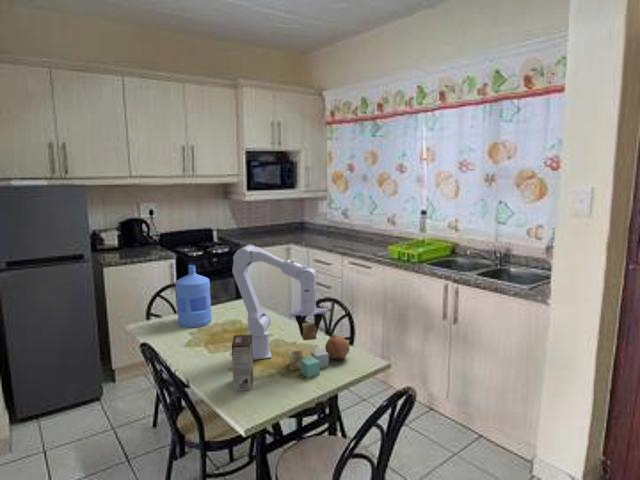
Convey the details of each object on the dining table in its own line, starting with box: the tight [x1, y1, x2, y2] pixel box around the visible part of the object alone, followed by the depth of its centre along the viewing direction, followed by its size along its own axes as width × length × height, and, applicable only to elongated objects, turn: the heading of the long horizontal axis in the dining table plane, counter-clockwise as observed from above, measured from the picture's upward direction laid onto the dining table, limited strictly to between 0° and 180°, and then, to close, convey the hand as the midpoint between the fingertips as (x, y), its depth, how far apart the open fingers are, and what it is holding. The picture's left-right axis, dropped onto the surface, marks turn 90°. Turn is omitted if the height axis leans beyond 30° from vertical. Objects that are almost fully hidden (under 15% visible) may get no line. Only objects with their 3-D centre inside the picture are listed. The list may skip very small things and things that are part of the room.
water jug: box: [175, 264, 212, 328], centre depth 209 cm, size 16×16×28 cm
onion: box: [324, 334, 350, 361], centre depth 171 cm, size 10×9×10 cm
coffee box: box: [231, 334, 254, 391], centre depth 150 cm, size 9×6×16 cm
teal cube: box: [300, 356, 321, 379], centre depth 159 cm, size 5×5×5 cm
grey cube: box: [310, 348, 330, 369], centre depth 165 cm, size 5×5×5 cm
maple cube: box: [288, 350, 304, 370], centre depth 164 cm, size 5×5×5 cm
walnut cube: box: [300, 321, 317, 341], centre depth 169 cm, size 5×5×5 cm
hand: (308, 333), depth 169 cm, fingers closed on walnut cube, 5 cm apart
